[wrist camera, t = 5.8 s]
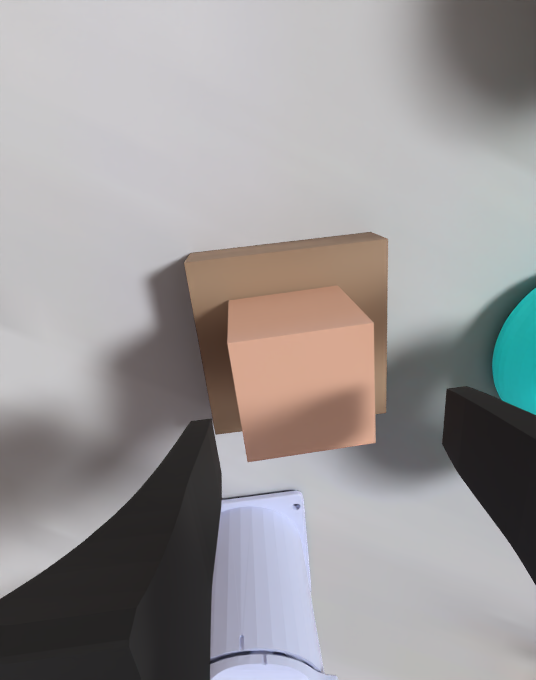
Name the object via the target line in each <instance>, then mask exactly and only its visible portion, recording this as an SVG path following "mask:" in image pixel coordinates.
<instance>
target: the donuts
mask: <svg viewBox="0 0 536 680" xmlns="http://www.w3.org/2000/svg"><path fill="white" fill-rule="evenodd" d="M492 370H493V379H494V384H495V387H496V390H497V392H498V394H499V396H500V398H501V400H502V401H504V402H507V403H509V404H511V405H514V406H516V407H518V408H521V409H523V410H525V411H528V412H530V413H532V414H535V415H536V288H535V289H533V290H532V291H531V292H530V293H529V294H528V295H527V296H526V297H525V298H523V300H522V301H521V302H520V303H519V304H518V305H517V306H516V307H515V309H514V310H513V311H512V313H511V314H510V315H509V317H508V318H507V320H506V321H505V323H504V325H503V327H502V329H501V331H500V333H499V336H498V338H497V341H496V344H495V348H494V352H493V360H492Z"/></svg>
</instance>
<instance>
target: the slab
mask: <svg viewBox="0 0 536 680" xmlns="http://www.w3.org/2000/svg"><path fill="white" fill-rule="evenodd" d="M184 265H185V271H186V276H187V282H188V287H189V293H190V298H191V303H192V309H193V314H194V320H195V325H196V331H197V336H198V341H199V347H200V352H201V358H202V363H203V369H204V374H205V380H206V385H207V390H208V396H209V401H210V407H211V412H212V418H213V423H214V428H215V434H224V433H232V432H240V431H242V426H241V420H240V414H239V408H238V403H237V397H236V391H235V385H234V379H233V374H232V368H231V362H230V356H229V350H228V344H227V337H228V302H229V300H235V299H242V298H249V297H257V296H264V295H271V294H279V293H286V292H293V291H300V290H308V289H315V288H322V287H329V286H337V285H338V286H339V287H340V288H341V289H342V290H343V291H344V292H345V293H346V294H347V295H348V296H349V298H350V299H351V300H352V301H353V302H354V303H355V304H356V305H357V306H358V307H359V308H360V309H361V310H362V311H363V312H364V313H365V314H366V315H367V316H368V317H369V318H370V319H371V320H372V321H373V322H374V370H375V414H382V413H386V377H387V278H388V239H387V238H384V237H382V236H379V235H377V234H374V233H372V232H366V233H358V234H349V235H341V236H332V237H324V238H315V239H307V240H298V241H289V242H281V243H272V244H264V245H255V246H247V247H238V248H230V249H221V250H212V251H204V252H195V253H190V254H189V256H188V257H187V259H186V260H185V262H184Z"/></svg>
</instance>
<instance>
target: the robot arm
mask: <svg viewBox="0 0 536 680" xmlns="http://www.w3.org/2000/svg"><path fill="white" fill-rule="evenodd" d="M442 444H443V446H444V448H445V450H446V452H447V454H448V456H449V458H450V460H451V461H452V463H453V465H454V467H455V468H456V470H457V472H458V474H459V475H460V476H461V478H462V479H463V481H464V482H465V483H466V485H467V486H468V487H469V489H470V490H471V491H472V493H473V494H474V496H475V497H476V498H477V500H478V501H479V502H480V504H481V505H482V506H483V508H484V509H485V510H486V512H487V513H488V514H489V516H490V517H491V518H492V520H493V521H494V522H495V524H496V525H497V526H498V528H499V529H500V530H501V532H502V533H503V534H504V536H505V537H506V539H507V540H508V542H509V543H510V544H511V546H512V547H513V549H514V550H515V552H516V553H517V555H518V557H519V558H520V560H521V562H522V563H523V565H524V566H525V568H526V570H527V571H528V573H529V575H530V576H531V578H532V580H533V581H534V583H535V585H536V415H535V414H532V413H530V412H528V411H525V410H523V409H521V408H518V407H516V406H514V405H511V404H509V403H507V402H504V401H502V400H500V399H498V398H495V397H493V396H491V395H488V394H486V393H483V392H481V391H478V390H476V389H473V388H470V387H467V386H465V387H457V388H449V389H447V391H446V404H445V416H444V429H443V442H442ZM294 504H298V505H294ZM310 593H311V581H310V569H309V558H308V546H307V535H306V523H305V511H304V500H303V495H302V493H301V492H299V491H288V492H281V493H273V494H265V495H258V496H250V497H242V498H235V499H227V500H222V478H221V468H220V462H219V457H218V452H217V446H216V441H215V435H214V430H213V425H212V419H205V420H197V421H191V422H190V423H189V425H188V426H187V427H186V429H185V430H184V432H183V433H182V435H181V436H180V438H179V439H178V441H177V442H176V443H175V445H174V446H173V448H172V449H171V450H170V452H169V453H168V454H167V456H166V457H165V459H164V460H163V461H162V463H161V464H160V465H159V466H158V468H157V469H156V470H155V471H154V473H153V474H152V475H151V476H150V477H149V479H148V480H147V481H146V482H145V483H144V485H143V486H142V487H141V488H140V489H139V490H138V492H137V493H136V494H135V495H134V496H133V497H132V498H131V499H130V500H129V501H128V502H127V503H126V504H125V505H124V506H123V507H122V508H121V509H120V510H119V511H118V512H117V513H116V514H115V515H114V516H113V517H111V518H110V519H109V520H108V521H107V522H106V523H104V524H103V525H102V526H101V527H100V528H99V529H98V530H96V531H95V532H94V533H93V534H92V535H91V536H89V537H88V538H87V539H86V540H85V541H83V542H82V543H81V544H80V545H78V546H77V547H76V548H74V549H73V550H72V551H71V552H69V553H68V554H67V555H65V556H64V557H63V558H61V559H60V560H58V561H57V562H56V563H54V564H53V565H51V566H50V567H49V568H47V569H46V570H44V571H43V572H41V573H40V574H39V575H37V576H36V577H34V578H33V579H31V580H29V581H28V582H26V583H25V584H23V585H22V586H20V587H18V588H17V589H15V590H14V591H12V592H11V593H9V594H7V595H6V596H4V597H3V598H1V599H0V680H338V678H337V676H336V675H328V674H324V668H323V662H322V657H321V651H320V645H319V640H318V634H317V628H316V622H315V617H314V611H313V605H312V600H311V594H310Z"/></svg>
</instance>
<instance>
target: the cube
mask: <svg viewBox="0 0 536 680" xmlns="http://www.w3.org/2000/svg"><path fill="white" fill-rule="evenodd" d="M227 344H228V350H229V356H230V362H231V368H232V374H233V379H234V385H235V391H236V397H237V403H238V408H239V414H240V420H241V426H242V432H243V437H244V443H245V449H246V455H247V461H248V462H252V461H259V460H265V459H272V458H279V457H285V456H292V455H298V454H305V453H312V452H318V451H325V450H332V449H338V448H345V447H351V446H358V445H365V444H371V443H376V436H375V370H374V322H373V321H372V320H371V319H370V318H369V317H368V316H367V315H366V314H365V313H364V312H363V311H362V310H361V309H360V308H359V307H358V306H357V305H356V304H355V303H354V302H353V301H352V300H351V299H350V298H349V296H348V295H347V294H346V293H345V292H344V291H343V290H342V289H341V288H340V287H339V286H338V285H337V286H329V287H322V288H315V289H308V290H300V291H293V292H286V293H279V294H271V295H264V296H257V297H249V298H242V299H235V300H229V302H228V337H227Z"/></svg>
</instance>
